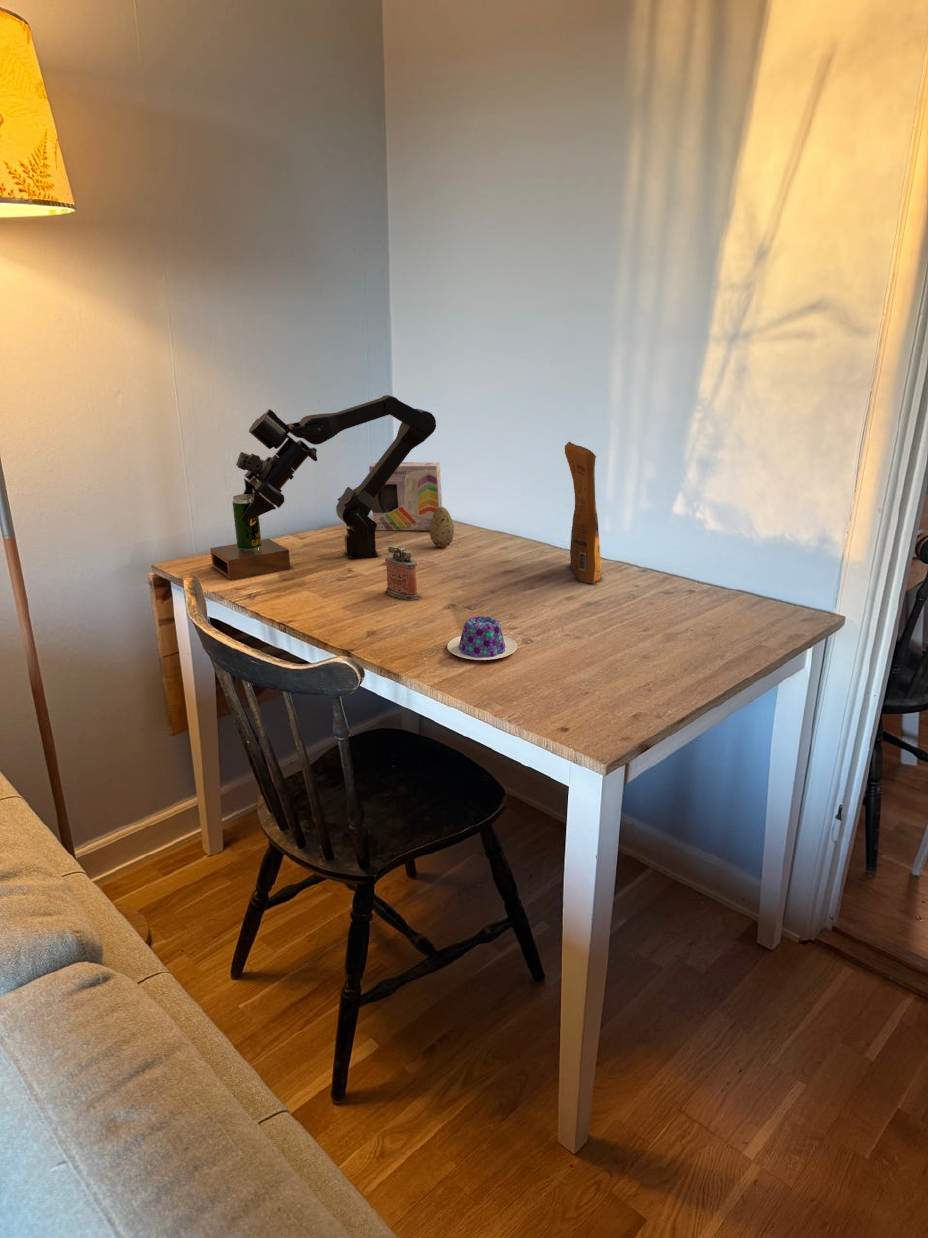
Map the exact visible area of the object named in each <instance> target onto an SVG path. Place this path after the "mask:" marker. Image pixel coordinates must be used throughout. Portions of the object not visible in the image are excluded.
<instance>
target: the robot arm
mask: <svg viewBox="0 0 928 1238" xmlns="http://www.w3.org/2000/svg"><path fill="white" fill-rule="evenodd" d="M389 415H390V416H391V417H393V418H394V419H396V420H398V421H400V425H399V428H398V431H397V434H396V437H395V439H394V440H393V441H392V442H391V444H390V445H389V446H388V448H386V451H384V453H383V454H382V455H381V457H380V458H379V459H378V460H377V461H376V462H377V464H376V465H375V466H374V467H373V469H372V470H371V471H370V472H369V473H368V474H367V475H366V477H365V478H364V479H363V480H362V482H361V483H360V484H359V485H358V486H356V487H355V488H353V489H352V488H351V487H350V486H347V487H346V488H345V490H344V492H343V493H342V495H341V496H340V497H338V498H337V499H336V500H337V502H338V503H337V504H336V507H335V509H336V510H335V511H336V516H337V517H338V518H339V520H341V521H342V522H343V523H344V524H345V527H347V528H346V534H345V535H344V550H345V553H346V554H347V556H348V557H349V558H350V559H351V560H353V559H355V560H356V559H365V558H374V557H378V556H379V554H378V552H377V548H376V546H377V545H376V544H377V543H376V531H377V530H376V527H377V523H375V522H374V521H373V518H370V516H369V515H370V513H371V512H372V510H371V509H372V505H373V502H374V499H375V497H376V495H377V494H378V493H379V491H380V490H381V489H382V488H383V486H384V485H385V484H386V482H387V481H388V480H389V478H390V477H391V476H392V474H393V473H394V472H395V471H396V469H397V468H398V467H399V465H400V464H401V463H402V462H404V460H405V459H406V458H407V456H408V455H409V454H410V453H411V451H412V450H413V449H415V448H416V447H418V446H419V445H421V444H422V443H424V442H425V441H426V440H427V439H428V438H429V437H430V436H431V435H433V433H434V432H435V431H436V429H437V421H436V420H437V419H436V417H435V416H434V415H433V413H431V412H430V411H428V410H424V409H421V408H414V407H412V406H410V405H408V404H407V403H404V402H403V401H401V400H399V399H398V398H397V397H396V396H393V395H390V394H386V395H383V396H382V397H379V398H375V399H373V400H370V401H368V402H364V403H361V404H357V405H355V406H352V407H349V408H346V409H343V410H340V411H336V412H328V413H327V412H326V413H317V414H309V415H306V416H303V417H302V418H301V419H300V420H299V421H297V422H290V423H285V422H284V421H283V420H282V419H281V418H280V417H278V415H277V414H276V412H274V411H273V410H272V409H271V408H269V409H267V411H266V412H264V413H263V414H262V415H260V416H259V417H258V418H256V419H255V421H254V422H253V423H252V424H251V426H250V427H249V429H248V433H249V434H250V435H251V436H253V437H254V438H256V440H257V441H258V442H260V443H261V444H262V445H263V446H265V447H266V449H268V450H271V449H273V448H274V449H275V450H277V451H276V452H275V454H274V455H273V456H267V458H266V459H265V460H264V459H262V458H261V457H260V456H259V455H257V454H254V453H251V454H249V453H246V452H244V451H240V452H239V456H238V457H237V461H236V463H235V466H237V468H238V469H240V470H243V471H247V472H246V473H245V474H244V475H243V476H244V478H243V483H244V490H243V492H242V494H253V500H252V501H251V503H250V505H249V506H248V508H247V509H246V511H245V513H244V514H243V516H242V518H241V520H242V521H243V522H247V521H249V520H251V519H253V518H255V517H258V516H259V517H260V516H262V515H263V514H266V513H268V512H270V511H273V510H276V509H277V508H278V509H280V508H281V507H282V506H283V504H284V503H285V495H284V494H283V493H282V491H283V490H282V489H283V487H284V485H285V484H286V483H287V482H288V481H289V480H290V481H292V480H293V478H295V476H294V474H295V473H296V472H297V470H298V469H299V468H300V466H302V464H303V463H304V462H305V461H306V460H307V458H308V457H309V459H311V460H312V461H314V462H317V461H318V455H317V452H318V449H317V448H316V447H310V446H309V445H308V444H306V442H308V443H309V444H311V445H314V446H315V445H317V446H318V445H321V444H323V443H325V442H327V441H329V440H330V439H332V438H334V437H335V436H337V435H338V434H339V433H341V432H343V431H344V430H348V429H350V428H353V427H356V426H360V425H362V424H366V423H369V422H371V421H374V420H377V419H380V418H384V417H387V416H389ZM289 434H291V435H292V436H293V437H295V438H297V439H299V440H297V441H296V440H295V439H294V438H292V437H291V436H290V435H289ZM301 439H303V440H304V441H306V442H304V441H303V440H301Z"/></svg>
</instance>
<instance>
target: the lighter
mask: <svg viewBox="0 0 928 1238" xmlns="http://www.w3.org/2000/svg"><path fill="white" fill-rule="evenodd" d="M387 553H389V554H392V555H386V556H385V557H384V561H385V564H386V565H385V566H386V582H387V583H386V586H387V587H386V594H388V595H390V596H392V597H394V598H395V597H396V598H399V599H404V600H409V601H413V600H414V601H415V600H417V599H418V598H419V593H418V588H417V587H418V586H417V585H418V584H417V567H418V562H417V561H416V560H414V559H412V551H411V550H407V547H405V546H403V547H398V546H395V545H389V546H387Z"/></svg>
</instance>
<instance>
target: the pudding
mask: <svg viewBox="0 0 928 1238" xmlns="http://www.w3.org/2000/svg"><path fill="white" fill-rule="evenodd" d="M446 645H447V646H446V647H447V650H448V651H449V653H451V654H452V655H455V656H457V657H460V658H462V659H467V660H475V661H482V660H483V661H487V660H488V661H489V660H497V659H501V658H505V657H508V656H510V655H512V654H513V653H514V652H516V651H517V649H518V644H517V642H516V641H515V640H514V639H513V638H511V637H509V636H506V635H503V631H502V627H501V624H500V622H499V620H498V619H496V618H494V617H491V616H484V615H483V616H481V615H480V616H475V617H474V616H473V617H470V618H469V619H468V620H465V622H464V624H463V628H462V631H461V635H459V636H456V637H454V638H452V639H451V640H450V641H449V642H448V644H446Z"/></svg>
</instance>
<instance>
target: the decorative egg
mask: <svg viewBox="0 0 928 1238" xmlns="http://www.w3.org/2000/svg"><path fill="white" fill-rule="evenodd" d="M454 536H455V527H454V522H453V519H452V516H451V514H450V512H449V511H448V510H447V508H446V507H444V506H442V507H439V508H438V509H437V510H436V511H435V513H434V514H433V517H432V520H431V524H430V530H429V537H430V540H431V542H432V543H433V544H434V546H436V547H438V548H446V547H448V546H449V545H450V544H451V543H452V542H453V541H454V540H453V539H454Z"/></svg>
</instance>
